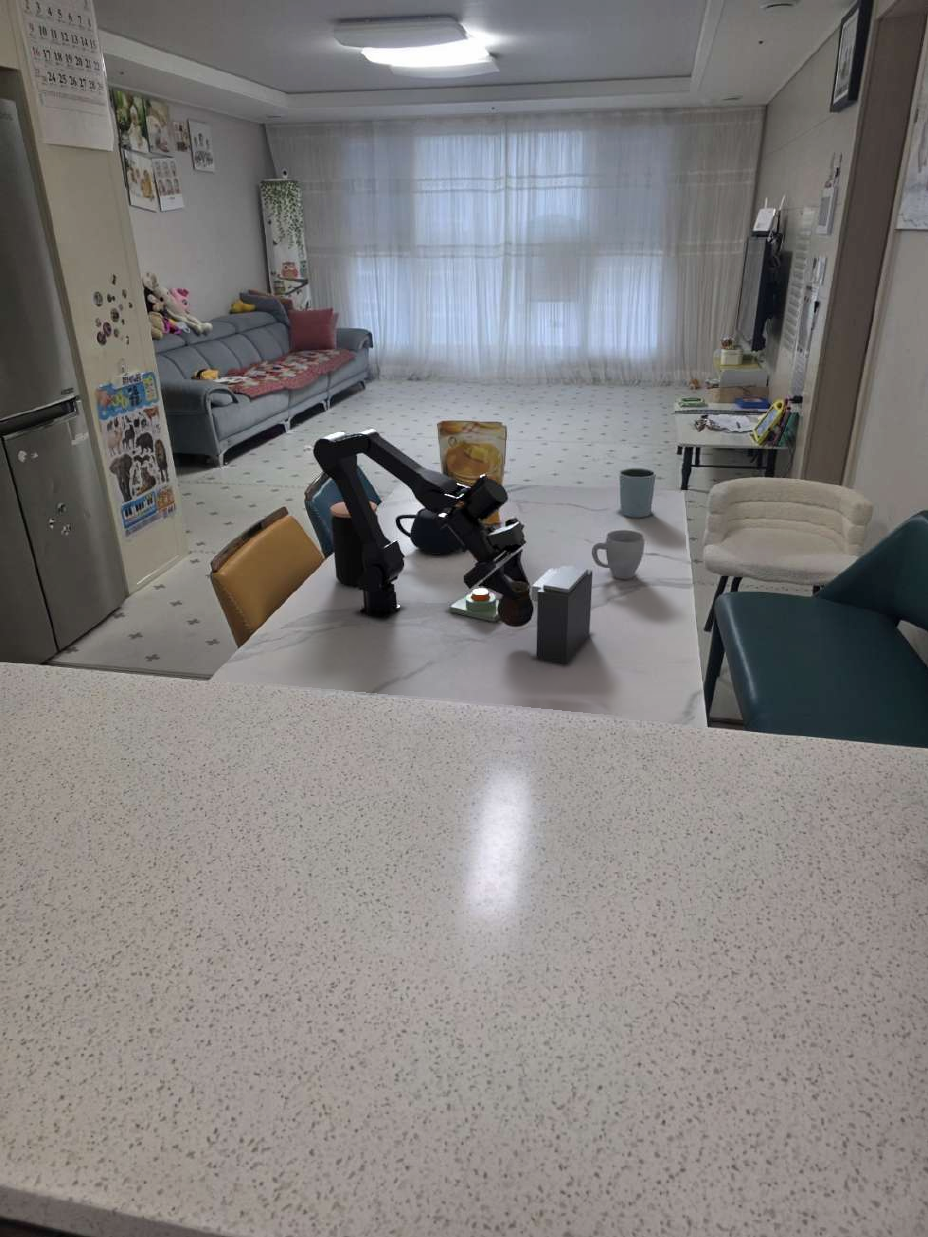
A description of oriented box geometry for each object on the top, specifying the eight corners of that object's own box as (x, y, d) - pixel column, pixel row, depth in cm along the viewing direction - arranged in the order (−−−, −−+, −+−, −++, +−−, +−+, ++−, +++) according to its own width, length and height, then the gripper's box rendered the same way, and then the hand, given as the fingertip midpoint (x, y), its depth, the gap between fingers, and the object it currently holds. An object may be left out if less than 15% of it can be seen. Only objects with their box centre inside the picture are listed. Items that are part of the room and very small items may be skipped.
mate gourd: (514, 611, 170) (515, 566, 165) (542, 622, 165) (543, 576, 161) (489, 622, 165) (490, 576, 161) (518, 634, 160) (518, 587, 156)
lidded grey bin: (526, 656, 159) (527, 585, 152) (552, 627, 170) (554, 560, 164) (565, 664, 155) (568, 592, 149) (589, 634, 167) (592, 566, 160)
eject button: (469, 600, 177) (469, 592, 176) (477, 594, 180) (477, 587, 179) (483, 603, 175) (483, 596, 175) (492, 597, 178) (492, 590, 177)
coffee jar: (390, 575, 198) (385, 503, 190) (367, 591, 189) (361, 516, 182) (352, 569, 202) (346, 498, 194) (327, 584, 193) (320, 510, 186)
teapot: (389, 556, 209) (387, 510, 204) (403, 536, 223) (401, 492, 218) (487, 560, 205) (486, 513, 200) (495, 539, 219) (495, 495, 214)
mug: (638, 567, 199) (641, 529, 195) (644, 581, 191) (647, 542, 187) (588, 568, 200) (590, 530, 196) (592, 581, 192) (594, 542, 188)
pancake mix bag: (442, 515, 239) (439, 418, 228) (507, 518, 235) (507, 420, 224) (436, 522, 233) (433, 423, 222) (503, 526, 230) (503, 425, 218)
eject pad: (449, 611, 178) (449, 598, 177) (468, 598, 184) (468, 586, 183) (494, 622, 173) (493, 609, 172) (512, 608, 179) (512, 595, 178)
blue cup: (655, 518, 233) (659, 476, 228) (619, 518, 233) (622, 477, 228) (648, 507, 242) (652, 467, 237) (614, 507, 243) (616, 467, 238)
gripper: (478, 522, 149) (533, 589, 149) (518, 495, 164) (568, 555, 164) (440, 556, 156) (493, 620, 156) (482, 527, 171) (530, 585, 171)
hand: (523, 593), depth 162 cm, fingers closed on mate gourd, 5 cm apart
